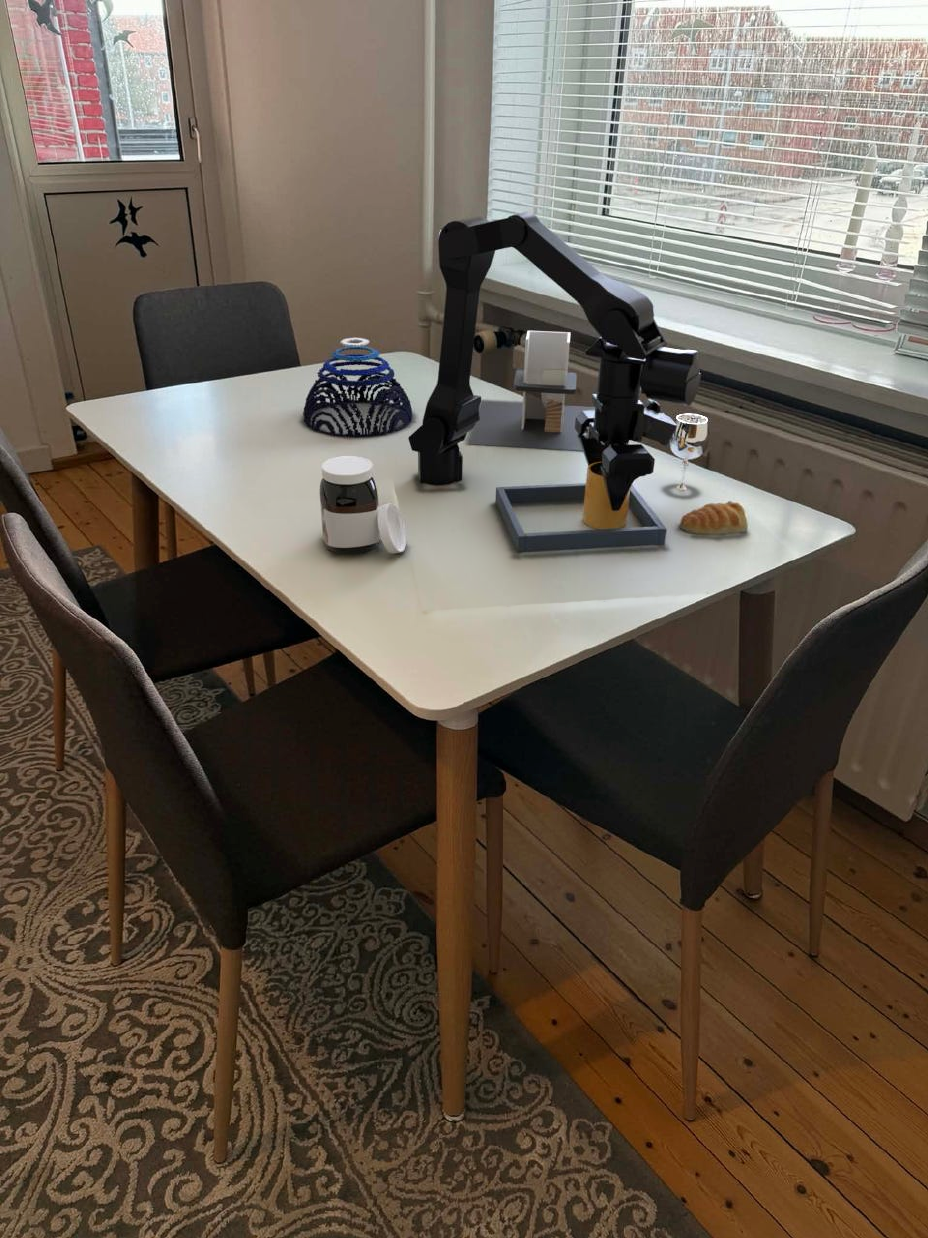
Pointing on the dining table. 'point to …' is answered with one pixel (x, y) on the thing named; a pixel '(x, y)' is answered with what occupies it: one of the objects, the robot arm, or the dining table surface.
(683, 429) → the wineglass
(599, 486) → the tapered yellow cylinder
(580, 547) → the blue tray
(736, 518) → the pastry
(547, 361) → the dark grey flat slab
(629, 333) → the robot arm
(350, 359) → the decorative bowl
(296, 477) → the dining table surface
